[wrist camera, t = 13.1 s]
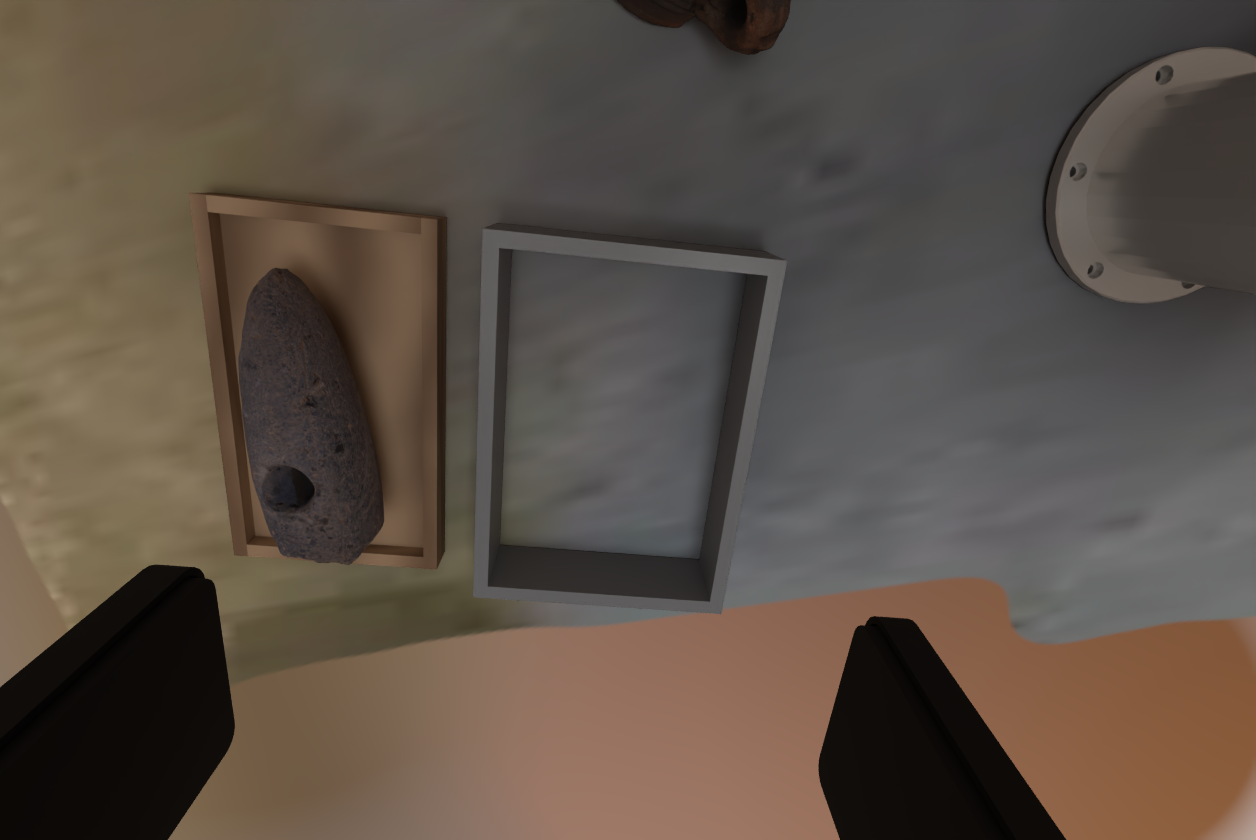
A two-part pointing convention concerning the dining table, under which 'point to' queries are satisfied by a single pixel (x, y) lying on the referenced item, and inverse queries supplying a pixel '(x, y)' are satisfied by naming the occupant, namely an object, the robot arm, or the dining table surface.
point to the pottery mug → (721, 19)
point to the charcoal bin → (706, 578)
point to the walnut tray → (370, 336)
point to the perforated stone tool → (306, 427)
